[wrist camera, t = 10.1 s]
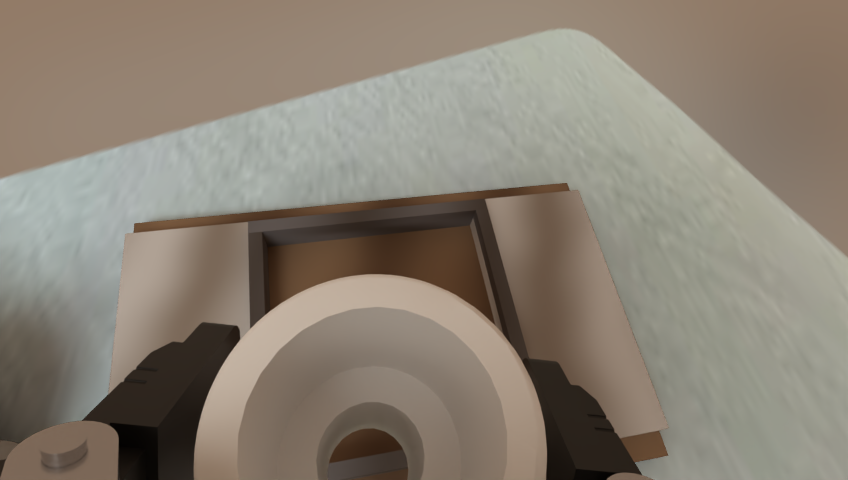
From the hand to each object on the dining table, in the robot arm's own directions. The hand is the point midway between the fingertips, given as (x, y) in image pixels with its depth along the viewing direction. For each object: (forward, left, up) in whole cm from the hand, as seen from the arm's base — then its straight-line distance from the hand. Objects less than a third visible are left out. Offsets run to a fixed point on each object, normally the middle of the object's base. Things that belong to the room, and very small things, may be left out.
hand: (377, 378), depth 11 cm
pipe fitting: (0, +2, -5) cm, 5 cm away
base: (-1, -4, -11) cm, 12 cm away
